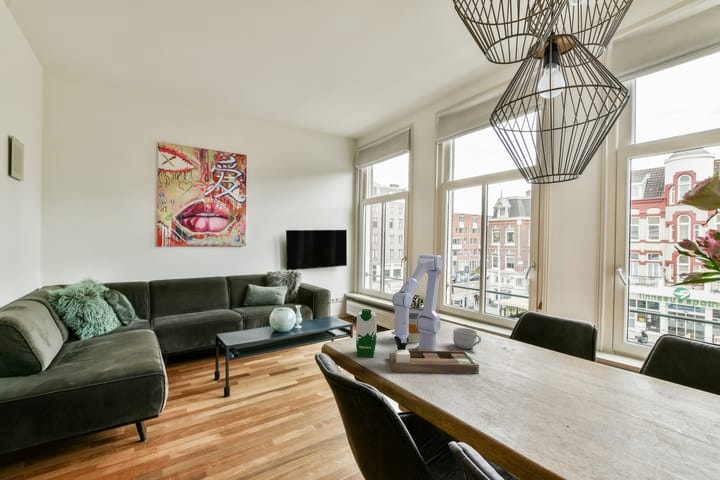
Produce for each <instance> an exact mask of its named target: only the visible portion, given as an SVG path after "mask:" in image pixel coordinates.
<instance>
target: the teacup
mask: <svg viewBox="0 0 720 480" xmlns="http://www.w3.org/2000/svg"><path fill="white" fill-rule="evenodd" d="M477 333H478V332H477V330H475V329H471V328H465V327H456V328H453V332H452V334H453V335H452V336H453V337H452V340H453V341H452V342H453V343H454V345H456V346H457V347H458V348H461V349H466V350H467V349H468V350H469V349H470V350H471V349H472V348H473V347H476V346H477V345H478V344H480V343H482V336H481V334H477ZM477 339H478V341H477Z"/></svg>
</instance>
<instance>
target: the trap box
mask: <svg viewBox="0 0 720 480" xmlns="http://www.w3.org/2000/svg"><path fill="white" fill-rule="evenodd" d="M407 350H408V349H407ZM408 351H409V353H410V363H396V352H389V361H390V364H391V365H390V366H391V372H392V373H419V374H420V373H427V374H428V373H429V374H431V373H432V374H433V373H436V374H479V373H480V364H479V363H478V362H477V361H476V360H475V359H474V357H472V356H471V355H470V353H468V352H467V350H436V351H423V350H418V349H417V350H415V349H413V350H410V349H409V350H408Z"/></svg>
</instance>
